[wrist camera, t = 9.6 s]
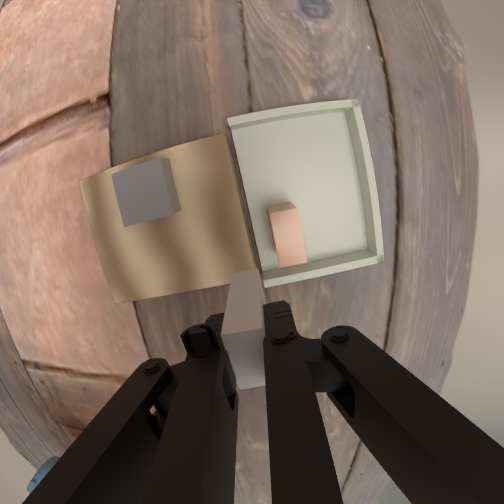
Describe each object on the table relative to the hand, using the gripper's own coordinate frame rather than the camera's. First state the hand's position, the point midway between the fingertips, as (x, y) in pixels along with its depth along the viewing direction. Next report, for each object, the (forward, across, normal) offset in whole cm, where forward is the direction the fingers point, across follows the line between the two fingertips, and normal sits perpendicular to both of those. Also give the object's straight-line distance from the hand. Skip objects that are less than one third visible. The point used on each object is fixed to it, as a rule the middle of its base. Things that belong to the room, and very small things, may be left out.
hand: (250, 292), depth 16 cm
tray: (+15, +7, +4) cm, 17 cm away
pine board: (+15, -8, +4) cm, 17 cm away
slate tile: (+11, -8, +7) cm, 15 cm away
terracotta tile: (+12, +2, 0) cm, 12 cm away
